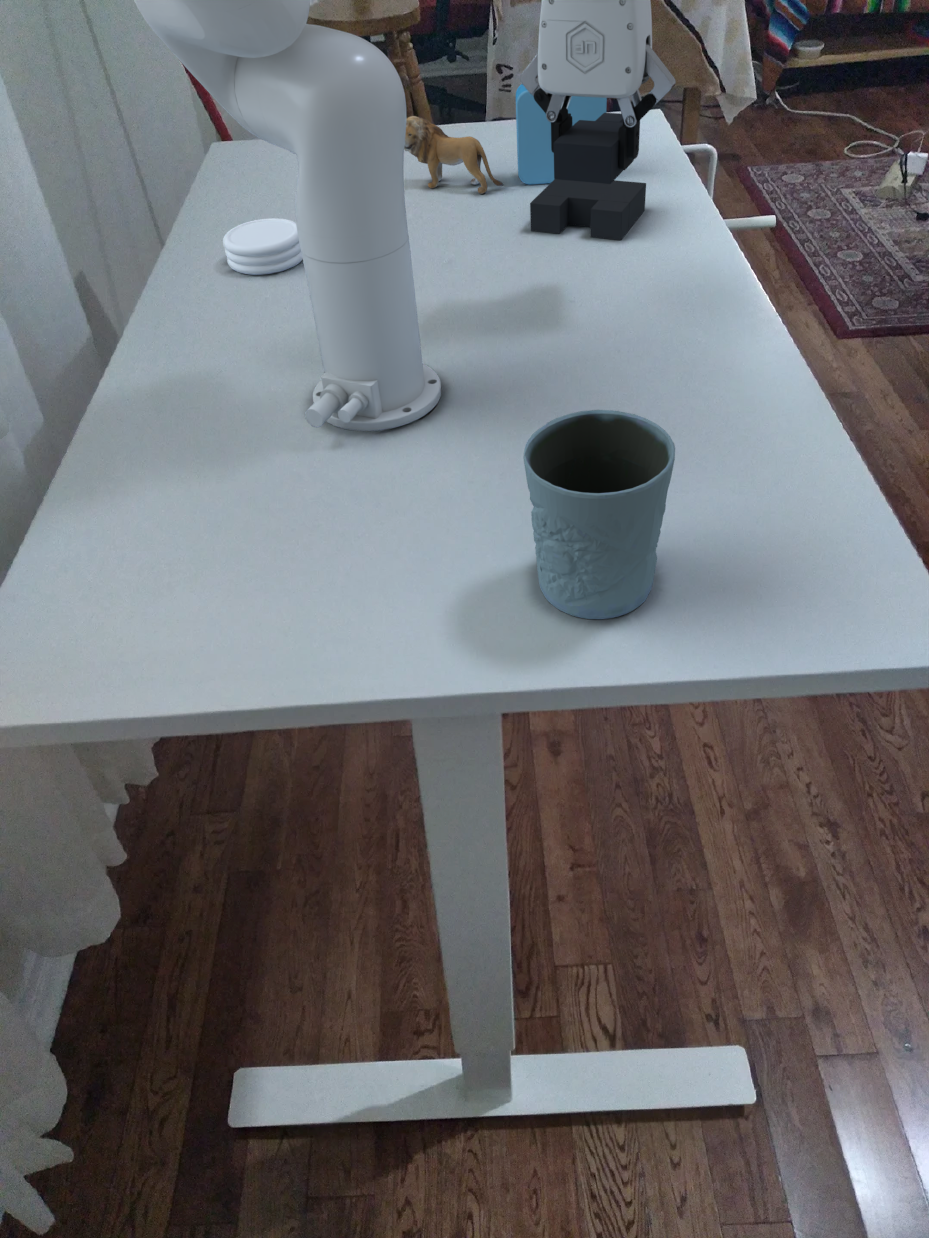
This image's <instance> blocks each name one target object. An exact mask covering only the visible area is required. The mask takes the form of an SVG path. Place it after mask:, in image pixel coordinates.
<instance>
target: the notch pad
mask: <svg viewBox="0 0 929 1238" xmlns="http://www.w3.org/2000/svg"><path fill="white" fill-rule="evenodd" d="M646 193H647V183H646V182H639V181H628V180H616V179H615V180H614V181H613V182H612V183H611V184H605V183H593V182H582V181H570V180H559V179H554V180H553V181H552V182H551V183H548V185H547V186H546V187H545V188H543V190H542V191H541V192H540V193H539V194H538V195H536V196H535V198H534V199H533V200H532V201H531V202H530V203H529V205H530V206H529V211H530V212H529V215H530V216H529V217H530V231H531V232H538V233H548V234H556V235H560V234H561V233H562V232H563V231H565V229H567V227H568V226H575V227H584V228H585V227H586V228H590V232H589V233H590V235H589V237H590V238H595V239H606V240H614V241H615V240H616V241H622V240H623V238H624V237H625V236H626V235H627V233H628V232H629V231H630V230H631V229H632V227H633V226H634V225H635V224H636V222H637V221H638V220H639V219H640V217H641V216H642V215H643V213H644V212H645V211H646V196H647V195H646Z"/></svg>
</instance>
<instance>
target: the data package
mask: <svg viewBox="0 0 929 1238" xmlns="http://www.w3.org/2000/svg"><path fill="white" fill-rule="evenodd" d="M607 101H608V98H600V97H581V96H572V97H571V100H570V103H569V106H568V108H567V109H568V113H570V114H571V116H572V126H573V125H574V124H575V123H576V122H578V121H579V120H588V121H596V120H597V119H598V118H599V117H600V116H601V115H602V114H603V113H607V106H608V105H607ZM515 121H516V124H515V125H516V156H517V174H518V178H519V180H520V181H521V182H522V183H524V185H525V184H526V185H530V186H531V185H545V184H550V183H551V182H552V181H553V180H554V153H553V152H552V150H551V122H549V121H548V120H547V118H546V113H545V112H544V111H543V110H542V109H541V107H540V106H539V105H538V104H537V103H536V101H535V100H534V96H533V95H532V94H530V93H529V91H528V90H527V89H526V88H525V87H524V86H523V84H522V83H521V84H520V85H519V86H518V87H517V88H516V91H515Z"/></svg>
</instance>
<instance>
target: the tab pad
mask: <svg viewBox="0 0 929 1238" xmlns="http://www.w3.org/2000/svg"><path fill="white" fill-rule="evenodd" d="M622 125H623V117H622V114H621V113H618V112H606V113H603V114H602V115H601V116H600V117H599V118H598V119H597V120H596V121H588V120H579V121H578V122H576V123H575V124H574V125H573V126H572V127H571V128H570V129H569V130H567V131H566V132H565V133H564V134H563V135H562V136H561V137H559V138H558V139H557V140H556V141H555V142H554V179H559V180H570V181H582V182H593V183H605V184H611V183H612V182H613V181H614V180H616V179H617V178H618V177H619V176H620V175H621V174H622V173H623V172H624V170H619V168H618V148H619V140H618V131H619V128H620V127H621V126H622Z"/></svg>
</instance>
